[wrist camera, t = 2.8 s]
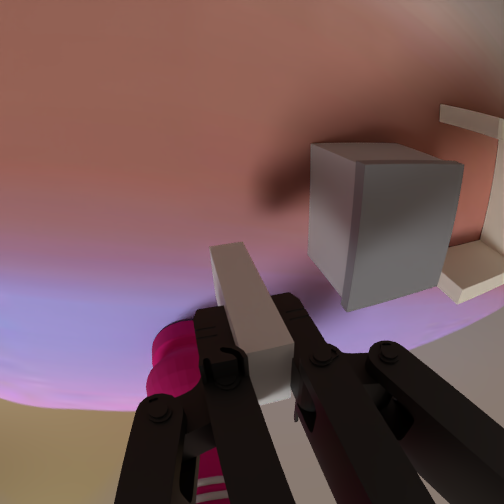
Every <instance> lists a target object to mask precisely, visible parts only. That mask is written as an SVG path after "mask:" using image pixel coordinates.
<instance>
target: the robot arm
mask: <svg viewBox="0 0 504 504" xmlns="http://www.w3.org/2000/svg"><path fill="white" fill-rule="evenodd" d="M209 248H210V257H211V265H212V273H213V280H214V288H215V295H216V300H217V304H218V306H217V307H211V308H205V309H199V310H197V311H196V314H195V316H194V318H193V323H194V330H195V336H196V342H197V348H198V354H199V365H198V366H199V370H200V374H201V378H200V380H199V382H198V383H197V385H196V386H195V387H194V388H193V389H192V390H190V391H188V392H186V393H184V394H182V395H180V396H178V397H174V396H172V395H169V394H164V393H160V394H153V395H151V396H148V397H146V398H145V399H144V400H143V401H142V402H140V404H139V406H138V408H137V410H136V413H135V417H134V421H133V425H132V429H131V432H130V436H129V441H128V444H127V448H126V452H125V457H124V461H123V465H122V469H121V474H120V478H119V483H118V487H117V492H116V497H115V502H114V504H196V496H197V484H198V473H199V462H200V454H203V453H205V452H207V451H209V450H211V449H213V448H215V447H216V448H217V453H218V457H219V461H220V465H221V469H222V474H223V478H224V482H225V485H226V489H227V493H228V497H229V501H230V504H296V503H295V501H294V498H293V496H292V493H291V491H290V488H289V485H288V483H287V480H286V478H285V475H284V472H283V469H282V467H281V464H280V461H279V459H278V456H277V453H276V450H275V448H274V445H273V442H272V439H271V436H270V434H269V431H268V428H267V426H266V422H265V420H264V417H263V414H262V411H261V408H260V405H264V404H267V403H272V402H276V401H280V400H284V399H288V398H290V397H291V390H292V392H293V394H294V396H295V399H296V402H295V411H294V420H295V422H297V421H298V417H299V419H300V421H301V423H302V426H303V428H304V430H305V433H306V435H307V437H308V439H309V442H310V444H311V446H312V449H313V451H314V453H315V455H316V458H317V460H318V462H319V464H320V467H321V469H322V471H323V473H324V476H325V478H326V480H327V482H328V485H329V487H330V489H331V491H332V494H333V496H334V498H335V500H336V502H337V504H435V502H434V500H433V499H432V497H431V495H430V494H429V492H428V490H427V489H426V487H425V485H424V484H423V482H422V481H421V479H420V477H419V475H420V476H421V477H422V478H424V480H426V481H427V482H428V483H429V484H430V485H431V486H432V487H433V488H434V489H435V490H436V491H437V492H438V493H439V494H440V495H441V496H442V497H443V498H445V499H446V500H447V501H448V502H449V503H450V504H504V428H503V427H501V426H500V425H499V424H498V423H496V422H495V421H494V420H493V419H492V418H490V417H489V416H488V415H487V414H486V413H484V412H483V411H482V410H481V409H480V408H478V407H477V406H476V405H475V404H473V403H472V402H471V401H470V400H469V399H467V398H466V397H465V396H464V395H463V394H461V393H460V392H459V391H458V390H456V389H455V388H454V387H453V386H451V385H450V384H449V383H448V382H446V381H445V380H444V379H443V378H442V377H440V376H439V375H438V374H437V373H435V372H434V371H433V370H432V369H430V368H429V367H428V366H427V365H425V364H424V363H423V362H422V361H420V360H419V359H418V358H417V357H415V356H414V355H413V354H412V353H410V352H409V351H408V350H407V349H405V348H404V347H403V346H401V345H400V344H398V343H396V342H392V341H379V342H377V343H374V344H373V345H372V346H371V347H370V350H369V353H343V352H341V351H340V350H339V349H338V348H337V347H335V346H333V345H331V344H327V343H326V341H325V340H324V338H323V337H322V335H321V333H320V332H319V330H318V329H317V327H316V325H315V324H314V322H313V321H312V319H311V317H309V314H308V313H307V311H306V309H304V306H303V305H302V303H301V301H300V300H299V299H298V298H297V297H295V296H294V295H292V294H291V293H289V292H288V293H282V294H277V295H272V296H270V294H269V292H268V290H267V288H266V286H265V284H264V283H263V281H262V279H261V277H260V275H259V273H258V271H257V269H256V267H255V265H254V263H253V261H252V259H251V257H250V255H249V253H248V251H247V249H246V247H245V245H244V243H243V242H237V243H230V244H224V245H217V246H211V247H209ZM417 473H418V474H419V475H418V474H417Z"/></svg>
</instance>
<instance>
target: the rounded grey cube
mask: <svg viewBox="0 0 504 504" xmlns="http://www.w3.org/2000/svg"><path fill="white" fill-rule="evenodd" d="M463 171H464V164H462V163H459V162H457V161H446V160H442V159H439V158H436V157H434V156H431V155H429V154H426V153H423V152H421V151H418V150H415V149H412V148H409V147H406V146H403V145H401V144H398V143H311V161H310V207H309V234H308V256H309V257H310V258H311V259H312V261H313V262H314V263H315V264H316V266H317V267H318V268H319V269H320V271H321V272H322V273H323V274H324V276H325V277H326V278H327V280H328V281H329V282H330V283H331V285H332V286H333V287H334V288H335V290H336V291H337V292H338V294H339V295H340V296H341V297H342V299H341V305H342V307H343V308H344V309H345V311H346V312H350V311H354V310H357V309H361V308H365V307H368V306H372V305H376V304H379V303H383V302H386V301H390V300H393V299H396V298H400V297H403V296H406V295H410V294H413V293H416V292H419V291H422V290H426V289H429V288H432V287H435V286H437V285H438V282H439V278H440V275H441V272H442V268H443V265H444V261H445V257H446V254H447V250H448V246H449V242H450V238H451V234H452V230H453V225H454V221H455V216H456V211H457V206H458V201H459V196H460V190H461V184H462V178H463Z"/></svg>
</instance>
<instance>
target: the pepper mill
mask: <svg viewBox="0 0 504 504" xmlns="http://www.w3.org/2000/svg"><path fill="white" fill-rule="evenodd" d="M152 364H153V369H152V370H151V372H150V374H149V376H148V379H147V383H146V390H147V397H148V396H151V395H153V394H160V393H164V394H169V395H172V396H174V397H178V396H180V395H182V394H184V393H186V392H188V391H190V390H192V389H193V388H194V387H195V386H196V385H197V383H198V382H199V380H200V378H201V374H200V370H199V366H198V365H199V354H198V348H197V342H196V336H195V330H194V323H193V320H190V321H181V322H178V323H174V324H171V325H170V326H168V327H166V328H164V329H163V330H162V331H161V332H160V333H159V334H158V335H157V336H156V338H155V340H154V342H153V346H152ZM196 504H230V501H229V497H228V493H227V489H226V485H225V482H224V478H223V474H222V469H221V465H220V461H219V457H218V453H217V448H216V447H215V448H213V449H211V450H209V451H207V452H205V453H203V454H200V462H199V473H198V484H197V496H196Z"/></svg>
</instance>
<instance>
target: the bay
mask: <svg viewBox="0 0 504 504" xmlns="http://www.w3.org/2000/svg"><path fill="white" fill-rule="evenodd" d="M439 122H442V123H446V124H450V125H453V126H457V127H461V128H464V129H468V130H471V131H474V132H477V133H481V134H484V135H487V136H490V137H493V138H496V139H499V141H498V150H497V158H496V165H495V171H494V177H493V183H492V188H491V194H490V199H489V203H488V208H487V213H486V217H485V221H484V225H483V229H482V233H481V237H480V240H477V241H473V242H469V243H465V244H461V245H457V246H452V247H448V250H447V254H446V257H445V261H444V265H443V268H442V272H441V275H440V278H439V282H438V285H437V287H438V288H439V289H441V290H442V291H443V292H444V293H445V294H446V295H447V296H448V297H449V298H450V299H452V300H453V301H454V302H455V303H456V304H460V303H462V302H465V301H467V300H469V299H472V298H474V297H476V296H478V295H481V294H483V293H485V292H487V291H489V290H492V289H494V288H496V287H498V286H500V285H502V284H504V119H502V118H498V117H495V116H491V115H487V114H484V113H480V112H476V111H471V110H467V109H463V108H458V107H453V106H449V105H444V104H440V118H439Z"/></svg>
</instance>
